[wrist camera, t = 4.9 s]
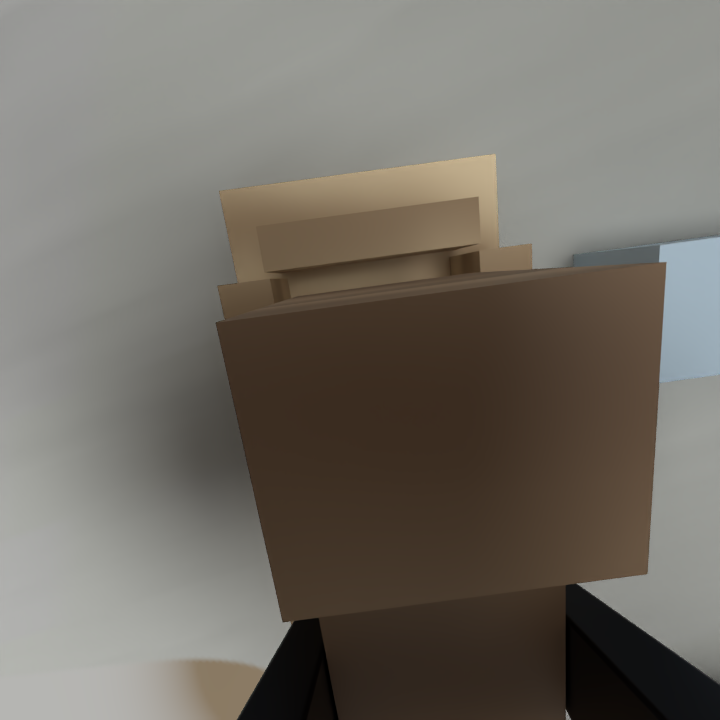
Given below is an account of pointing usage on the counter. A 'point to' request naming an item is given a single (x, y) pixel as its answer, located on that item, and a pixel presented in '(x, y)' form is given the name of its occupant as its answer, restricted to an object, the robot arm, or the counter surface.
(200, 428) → the counter surface
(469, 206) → the jig
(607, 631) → the robot arm
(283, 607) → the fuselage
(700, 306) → the light blue block
